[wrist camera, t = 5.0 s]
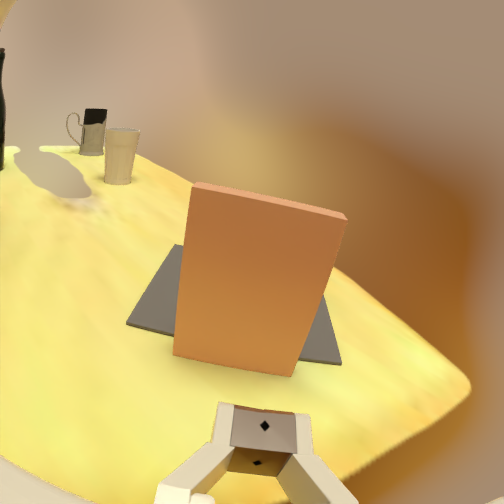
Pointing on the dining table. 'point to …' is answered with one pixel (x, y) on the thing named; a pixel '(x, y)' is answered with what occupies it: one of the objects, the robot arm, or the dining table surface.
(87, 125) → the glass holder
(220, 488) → the dining table surface
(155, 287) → the mat
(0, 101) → the dark green bottle
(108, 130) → the cup
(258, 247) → the tile
